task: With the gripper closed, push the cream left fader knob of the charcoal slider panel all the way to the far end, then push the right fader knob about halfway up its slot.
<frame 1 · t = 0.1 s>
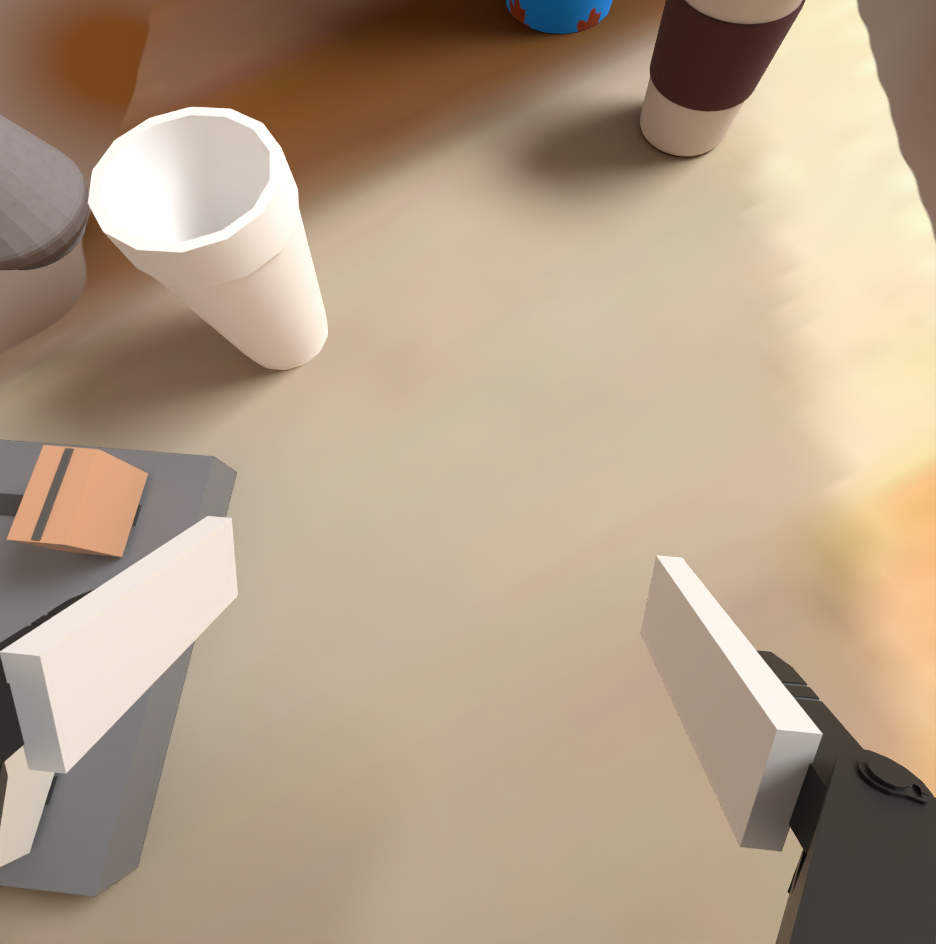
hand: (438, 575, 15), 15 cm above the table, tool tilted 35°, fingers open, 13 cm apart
thermos: (557, 1, 48), on the table
foam cup: (286, 334, 36), on the table
coffee cup: (679, 130, 42), on the table
fader 1: (83, 503, 26), point 5 cm above the table, slide at 0.0 cm
coffee pot: (19, 283, 38), on the table
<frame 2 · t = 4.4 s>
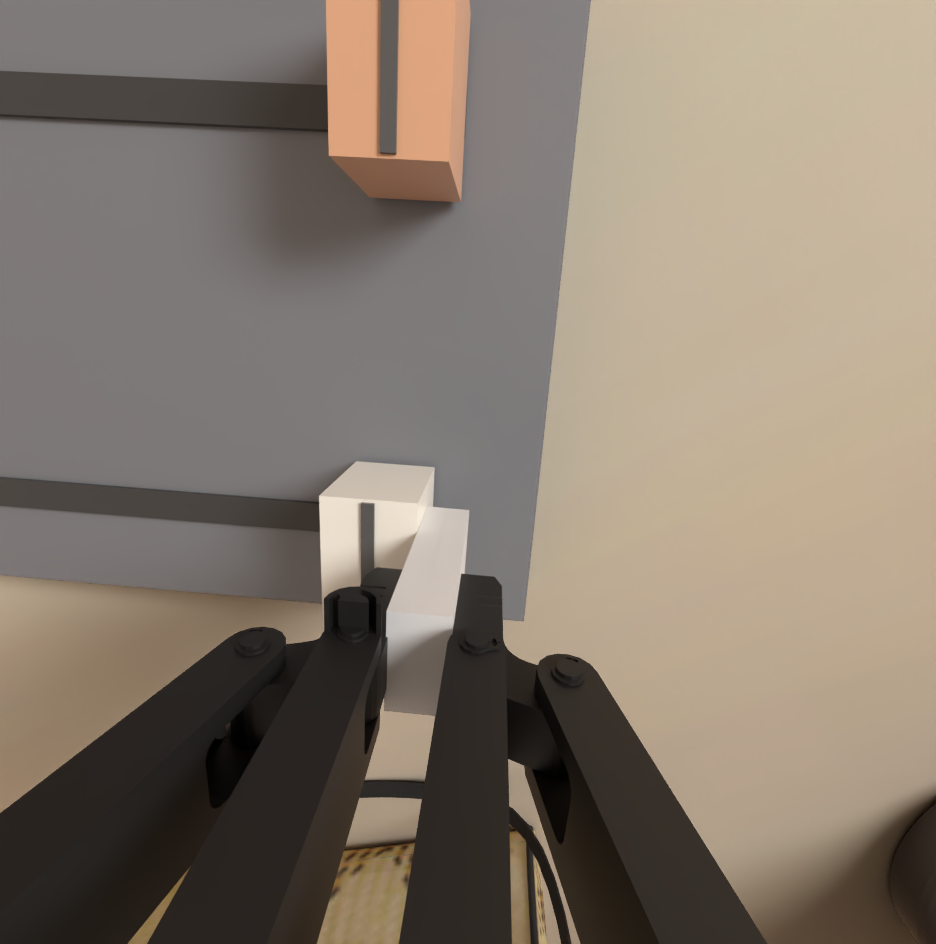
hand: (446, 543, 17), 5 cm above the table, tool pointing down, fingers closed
fader 2: (382, 547, 17), point 5 cm above the table, slide at 0.5 cm, touching gripper
clutch purse: (310, 824, 29), on the table
fader 1: (405, 77, 13), point 5 cm above the table, slide at 0.0 cm
slider panel: (237, 328, 21), on the table
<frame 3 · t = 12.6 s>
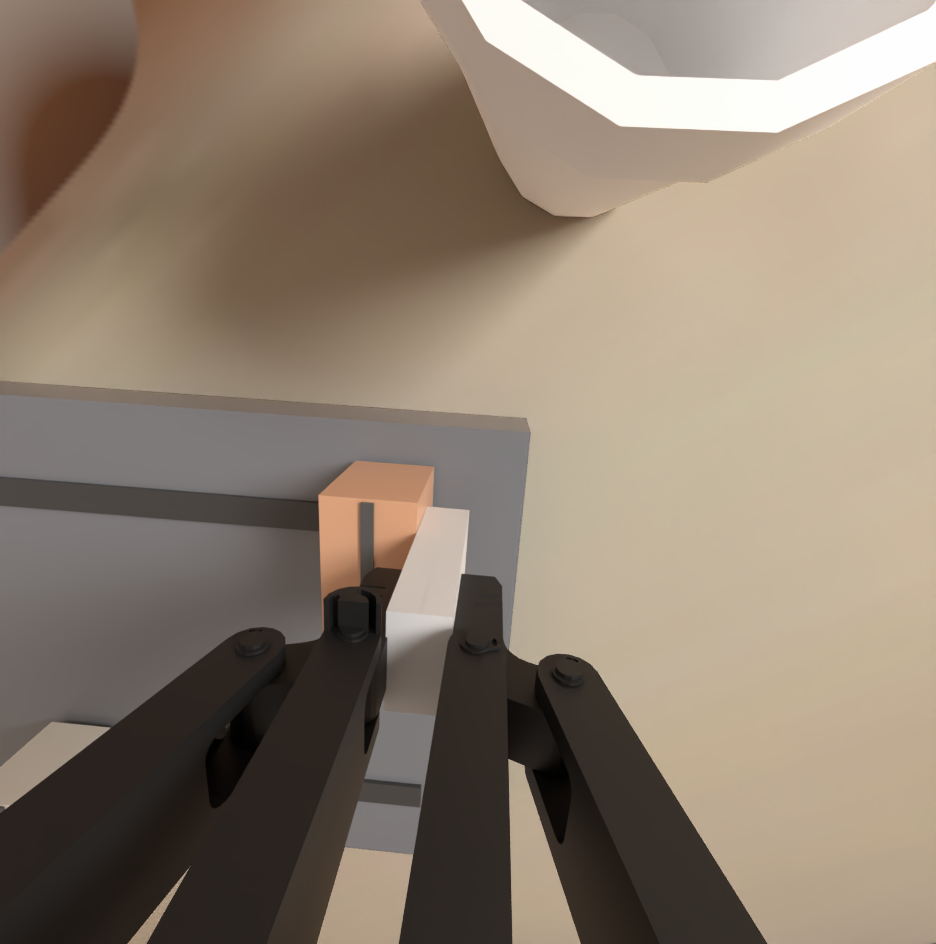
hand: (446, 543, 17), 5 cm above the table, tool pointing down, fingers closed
fader 2: (53, 805, 22), point 5 cm above the table, slide at 14.7 cm
foam cup: (581, 125, 18), on the table
fader 1: (381, 547, 17), point 5 cm above the table, slide at 0.0 cm, touching gripper
slider panel: (248, 614, 25), on the table
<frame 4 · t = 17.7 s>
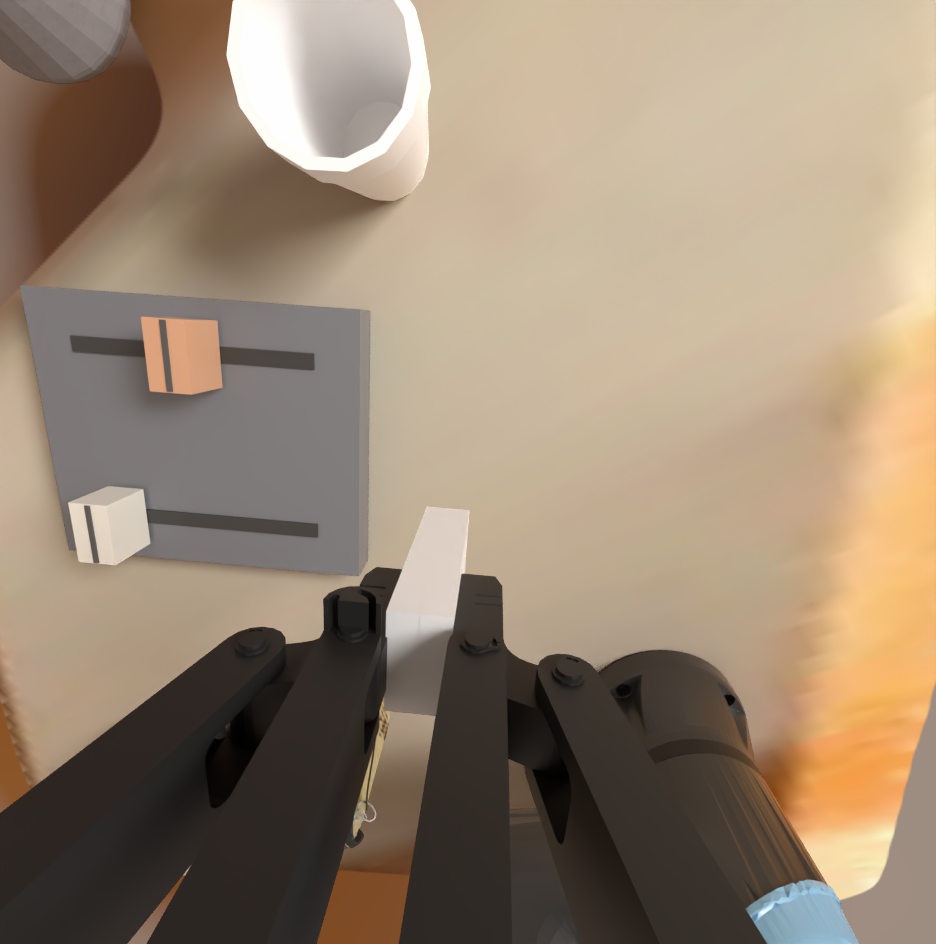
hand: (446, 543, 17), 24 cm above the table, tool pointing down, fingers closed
fader 2: (111, 524, 39), point 5 cm above the table, slide at 14.7 cm
foam cup: (386, 154, 36), on the table
clutch purse: (267, 703, 51), on the table
fader 1: (184, 354, 35), point 5 cm above the table, slide at 7.2 cm
slider panel: (221, 433, 42), on the table
coffee pot: (89, 89, 36), on the table
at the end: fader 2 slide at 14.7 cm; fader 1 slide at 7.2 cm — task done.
